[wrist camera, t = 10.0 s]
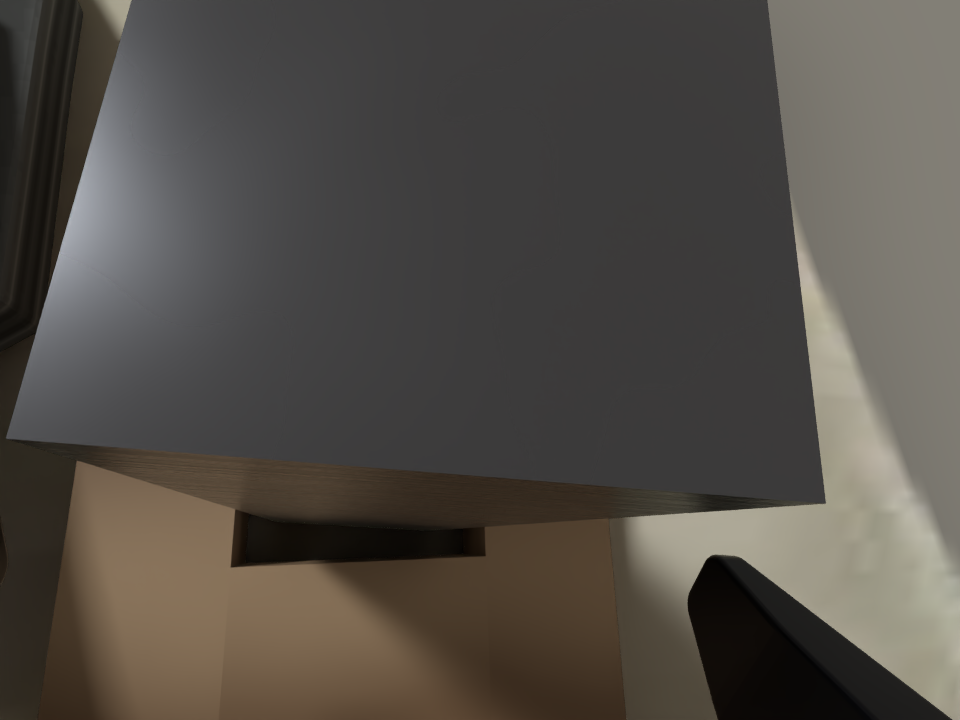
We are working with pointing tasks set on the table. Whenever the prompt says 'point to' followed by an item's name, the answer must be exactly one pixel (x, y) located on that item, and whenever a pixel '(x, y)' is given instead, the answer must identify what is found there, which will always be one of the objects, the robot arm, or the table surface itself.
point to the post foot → (322, 621)
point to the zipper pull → (32, 150)
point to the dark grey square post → (435, 265)
